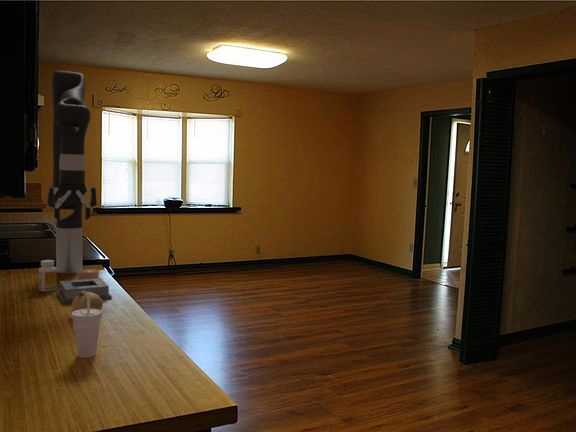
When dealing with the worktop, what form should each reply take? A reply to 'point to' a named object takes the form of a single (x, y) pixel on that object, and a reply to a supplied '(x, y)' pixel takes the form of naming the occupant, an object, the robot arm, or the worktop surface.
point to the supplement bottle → (47, 276)
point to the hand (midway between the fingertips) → (72, 219)
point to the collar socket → (83, 289)
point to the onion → (81, 301)
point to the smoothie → (86, 329)
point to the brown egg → (87, 274)
